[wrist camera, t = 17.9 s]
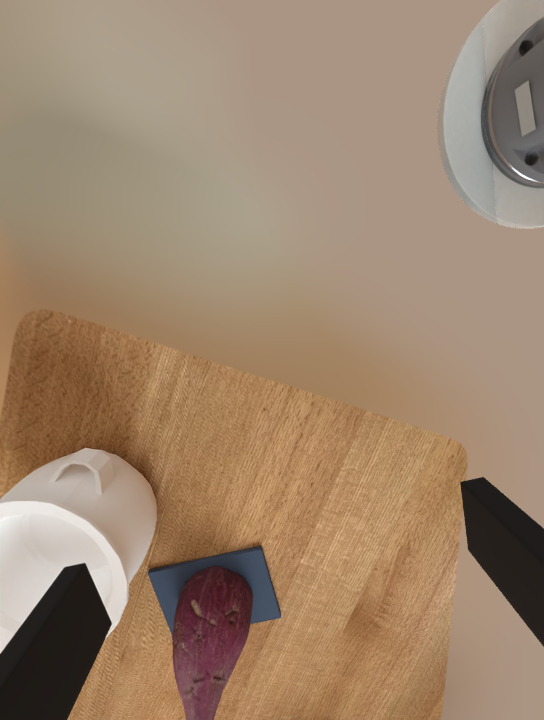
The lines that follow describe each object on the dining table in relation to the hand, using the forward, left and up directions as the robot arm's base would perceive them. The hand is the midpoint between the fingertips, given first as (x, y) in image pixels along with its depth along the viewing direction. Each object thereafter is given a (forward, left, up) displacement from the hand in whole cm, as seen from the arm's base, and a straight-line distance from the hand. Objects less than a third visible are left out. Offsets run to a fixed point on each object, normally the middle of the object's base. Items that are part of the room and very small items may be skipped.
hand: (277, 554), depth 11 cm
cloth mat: (+15, +30, -27) cm, 43 cm away
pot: (+26, +12, -27) cm, 39 cm away
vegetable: (+15, +30, -26) cm, 43 cm away
